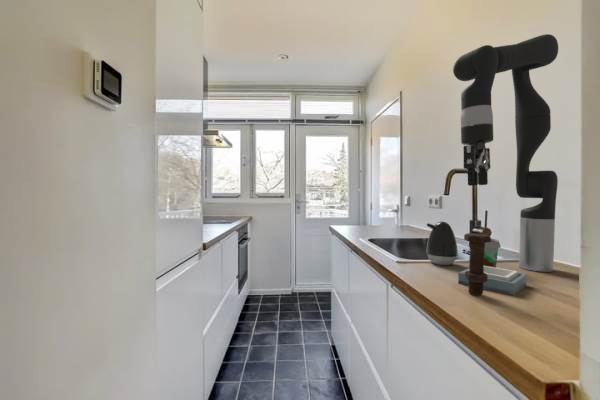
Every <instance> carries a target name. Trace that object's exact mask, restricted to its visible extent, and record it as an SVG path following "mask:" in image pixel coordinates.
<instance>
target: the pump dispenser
mask: <svg viewBox="0 0 600 400" xmlns="http://www.w3.org/2000/svg"><path fill="white" fill-rule="evenodd" d="M426 226H427V227H428V228H430V229H431V231H430V233H429V236H428V239H427V240H428V241H427V243H426V250H425V251H426V255H427V258H428V259H429V261H430V262H431V263H433V264H434V265H438V266H449V265H452V264H454V263H455V261H456V260H457V257H458V255H459V250H458V244H457V238H456V236H455V235H456V234H455V232H454V230H453V228H452V227H451V225H450V224H449V223H448V222H445V221H439V222H437V223H435V224H432V223H426Z"/></svg>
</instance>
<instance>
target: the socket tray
mask: <svg viewBox="0 0 600 400" xmlns="http://www.w3.org/2000/svg"><path fill="white" fill-rule="evenodd" d="M483 268H484V271H483V272H484V273H486V274H487V276H488V281H486V282H484V283H483V290H487V291H491V292H496V293H500V294H506V295H510V296H515V295H516V294H517V293H518V292H519V291H521V290H522V289H523V288H524V287H526V286H527V273H519V272H518V270H512V269H506V268H499V267H496V268H495V267H489V266H484V267H483ZM466 271H470V270H469V267H468V268H467V269H464V270H462V271H459V272H458V281H457V282H458V284H461V285H464V286H469V280H467V279H466V278H465V272H466Z"/></svg>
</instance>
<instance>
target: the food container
mask: <svg viewBox="0 0 600 400" xmlns="http://www.w3.org/2000/svg"><path fill="white" fill-rule="evenodd" d="M500 248H501V242H500V241H499V240H498V239H495V238H491V242H485V248H484V256H483V257H484V264H483V265H484V266H489V267H495V268H497V261H498V254H499V253H498V252H499V249H500Z"/></svg>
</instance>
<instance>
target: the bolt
mask: <svg viewBox="0 0 600 400" xmlns="http://www.w3.org/2000/svg"><path fill="white" fill-rule="evenodd" d="M463 239H464V241H467V242H468V247H469V257H468V258H469V260H468V261H469V264H468V268H469V270H470V271H466V272H465V278H466V279H467V280H469V285H468V290H467V291H468V293H469V294H470V295H471V296H479V297H480V296H483V294H484V289H483V283H484V282H486V281H488V276H487V274H486V273H484V272H483V271H484V268H483V267H484V265H483V264H484V257H483V256H484V248H485V242H491V239H492V237H491V236H490V235H489V234H483V233H465V234H464V235H463Z"/></svg>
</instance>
